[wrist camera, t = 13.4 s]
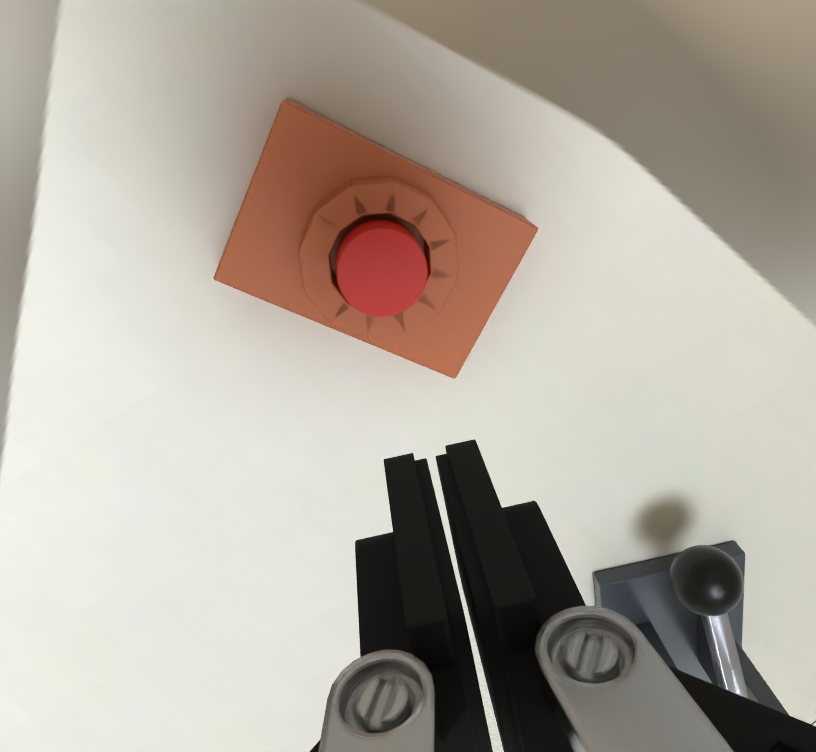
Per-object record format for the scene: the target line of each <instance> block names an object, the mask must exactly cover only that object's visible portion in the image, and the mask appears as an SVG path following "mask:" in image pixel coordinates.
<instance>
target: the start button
mask: <svg viewBox="0 0 816 752" xmlns="http://www.w3.org/2000/svg"><path fill="white" fill-rule="evenodd" d="M336 268H337V281H338V285H339V288H340V291H341V293H342V295H343V296H344V298H345V299H346V300H347V301H348V303H349V304H351V305H352V306H353V307H354V308H356V309H357V310H359V311H361V312H363V313H365V314H368V315H372V316H379V317H384V316H392V315H395V314H398V313H401V312H403V311H405V310H406V309H408V308H409V307H411V306H412V305H413V304H414V303H415V302H416V301H417V300H418V298H419V297H420V296H421V294H422V292H423V290H424V288H425V285H426V282H427V276H428V268H427V262H426V258H425V255H424V253H423V251H422V249H421V247H420V245H419V243H418V241H417V239H416V238H415V236H414V235H413V234H412V233H411V232H410V231H409V230H408V229H407V228H405V227H404V226H403V225H401V224H399V223H397V222H394V221H390V220H385V219H375V220H369V221H366V222H363V223H361V224H359V225H357V226H356V227H354V228H353V229H352V230H350V231H349V232H348V233H347V235H346V236H345V237H344V239H343V240H342V242H341V244H340V246H339V249H338V252H337V259H336Z"/></svg>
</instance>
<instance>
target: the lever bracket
mask: <svg viewBox="0 0 816 752" xmlns="http://www.w3.org/2000/svg"><path fill="white" fill-rule="evenodd" d="M711 547H715V548H718V549H720V550H722V551H724V552H725V553H727V554H728V555H729V556H730V557H731V558H733V559H734V561H735V562H736V563H737V565H738V566H739V568H740V570H741V572H742V575H743V580H744V570H745V553H744V551H743V550H742V549H741V548H740V547H739V546H738V544H737V543H736V542H735V541H733V542H729V543H724V544H720V545H715V546H711ZM678 555H679V554H675V555H671V556H666V557H662V558H657V559H653V560H648V561H644V562H639V563H635V564H630V565H626V566H621V567H617V568H612V569H608V570H604V571H599V572H595V573H593V575H594V586H595V597H596V606H598V607H602V608H606V609H610V610H613V611H615V612H617V613H619V614H621V615H623V616H625V617H626V618H628V619H629V620H630V621H631V622H632V623H633V624H634V625H635V626H636V627H637V628H638V629H639V630H640V631H641V632H642V634H643V635H644V636H645V638H646V639H647V640H648V641H649V643H650V644H651V645H652V647H653V648H654V649H655V650H656V652H657V653H658V654H659V656H660V657H661V658H662V659H663V661H664V662H665V663H666V665H668V666H670V667H672V668H675V669H677V670H680V671H682V672H685V673H687V674H689V675H692V676H694V677H697V678H699V679H702V680H704V681H706V682H709V683H711V684H714V685H716V686H718V682H717V678H716V674H715V670H714V666H713V662H712V658H711V654H710V650H709V646H708V642H707V637H706V633H705V629H704V625H703V621H702V617H701V615H699V614H696V613H694V612H692V611H690V610H688V609H687V608H686V607H684V606H683V605H682V604H681V603H680V602H679V601H678V600H677V598H676V597H675V595H674V593H673V591H672V588H671V585H670V578H669V575H670V568H671V565H672V563H673V561H674V559H675V558H676V557H677V556H678ZM743 597H744V590H743V595H742V598H741V600H740V601H739V603H738V604H737V605H736V607H735V608H733V609H732V610H731V611H729V612H728V616H729V620H730V624H731V628H732V632H733V636H734V640H735V644H736V648H737V652H738V656H739V660H740V664H741V668H742V672H743V676H744V680H745V684H746V688H747V692H748V696H749V699H750V700H752V701H755V702H757V703H760V704H762V705H765V706H767V707H769V708H772V709H774V710H777V711H779V712H781V713H784V714H786V715H789V714H788V713H787V712H786V710H785V709H784V707H783V706H782V705H781V703H780V702H779V700H778V699H777V698H776V696H775V695H774V693H773V692H772V690H771V689H770V688H769V686H768V685H767V683H766V682H765V681H764V679H763V678H762V676H761V675H760V673H759V672H758V671H757V669H756V668H755V666H754V665H753V664H752V662H751V661H750V659H749V658H748V657H747V655H746V654H745V652H744V651H743V649H742V623H743ZM718 687H719V686H718Z"/></svg>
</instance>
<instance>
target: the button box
mask: <svg viewBox="0 0 816 752" xmlns="http://www.w3.org/2000/svg"><path fill="white" fill-rule="evenodd" d="M375 219H385V220H390V221H394V222H397V223H399V224H401V225H403V226H404V227H405V228H407V229H408V230H409V231H410V232H411V233H412V234H413V235H414V236H415V238H416V239H417V241H418V243H419V245H420V247H421V249H422V251H423V253H424V255H425V258H426V262H427V268H428V276H427V282H426V285H425V288H424V290H423V292H422V294H421V296H420V297H419V298H418V300H417V301H416V302H415V303H414V304H413V305H412V306H411V307H409V308H408V309H406V310H405V311H403V312H401V313H398V314H395V315H392V316H384V317H379V316H372V315H368V314H365V313H363V312H361V311H359V310H357V309H356V308H354V307H353V306H352V305H351V304H349V303H348V301H347V300H346V299H345V298H344V296H343V295H342V293H341V291H340V288H339V285H338V281H337V268H336V259H337V252H338V249H339V246H340V244H341V242H342V240H343V239H344V237H345V236H346V235H347V233H348V232H349V231H350V230H352V229H353V228H354V227H356V226H357V225H359V224H361V223H363V222H366V221H369V220H375ZM537 230H538V228H537V227H536V226H535V225H534V224H532V223H531V222H530V221H528V220H527V219H526V218H524V217H522V216H520V215H518V214H516V213H514V212H512V211H510V210H508V209H506V208H504V207H502V206H500V205H498V204H496V203H494V202H492V201H490V200H488V199H486V198H484V197H482V196H480V195H478V194H476V193H474V192H472V191H470V190H468V189H466V188H465V187H463V186H461V185H459V184H457V183H455V182H453V181H451V180H449V179H447V178H445V177H443V176H441V175H439V174H437V173H435V172H433V171H431V170H429V169H427V168H425V167H423V166H421V165H419V164H417V163H415V162H413V161H411V160H409V159H407V158H405V157H403V156H401V155H399V154H397V153H395V152H393V151H391V150H389V149H387V148H385V147H383V146H381V145H379V144H377V143H375V142H373V141H371V140H369V139H367V138H365V137H363V136H361V135H359V134H357V133H355V132H353V131H351V130H349V129H347V128H345V127H343V126H341V125H339V124H337V123H335V122H333V121H331V120H329V119H327V118H325V117H323V116H321V115H319V114H317V113H315V112H313V111H311V110H309V109H307V108H305V107H303V106H301V105H299V104H297V103H295V102H293V101H291V100H289V99H284V100H283V101H282V102H281V104H280V107H279V110H278V112H277V115H276V117H275V120H274V123H273V125H272V128H271V130H270V133H269V136H268V138H267V141H266V143H265V146H264V148H263V151H262V154H261V156H260V159H259V161H258V164H257V167H256V169H255V172H254V174H253V177H252V180H251V182H250V185H249V187H248V190H247V193H246V195H245V198H244V200H243V203H242V205H241V208H240V211H239V213H238V216H237V218H236V221H235V224H234V226H233V229H232V231H231V234H230V237H229V239H228V242H227V244H226V247H225V250H224V252H223V255H222V257H221V260H220V262H219V265H218V268H217V270H216V273H215V275H214V279H215V280H216V281H219V282H221V283H223V284H226V285H228V286H231V287H233V288H236V289H238V290H240V291H243V292H245V293H248V294H250V295H253V296H255V297H257V298H260V299H262V300H265V301H267V302H270V303H272V304H274V305H277V306H279V307H282V308H284V309H287V310H289V311H291V312H294V313H296V314H299V315H301V316H304V317H306V318H308V319H311V320H313V321H316V322H318V323H321V324H323V325H325V326H328V327H330V328H333V329H335V330H338V331H340V332H342V333H345V334H347V335H350V336H352V337H354V338H357V339H359V340H362V341H364V342H367V343H369V344H371V345H374V346H376V347H379V348H381V349H384V350H386V351H388V352H391V353H393V354H396V355H398V356H401V357H403V358H405V359H408V360H410V361H413V362H415V363H418V364H420V365H422V366H425V367H427V368H430V369H432V370H435V371H437V372H439V373H442V374H444V375H447V376H449V377H452V378H456V376H457V375H458V373H459V371H460V369H461V367H462V366H463V364H464V362H465V360H466V358H467V357H468V355H469V353H470V351H471V349H472V348H473V346H474V344H475V342H476V340H477V339H478V337H479V335H480V333H481V331H482V330H483V328H484V326H485V324H486V322H487V321H488V319H489V317H490V315H491V313H492V312H493V310H494V308H495V306H496V304H497V303H498V301H499V299H500V297H501V295H502V293H503V292H504V290H505V288H506V286H507V284H508V283H509V281H510V279H511V277H512V275H513V274H514V272H515V270H516V268H517V266H518V265H519V263H520V261H521V259H522V257H523V256H524V254H525V252H526V250H527V248H528V247H529V245H530V243H531V241H532V239H533V238H534V236H535V234H536V232H537Z"/></svg>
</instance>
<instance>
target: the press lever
mask: <svg viewBox="0 0 816 752" xmlns="http://www.w3.org/2000/svg"><path fill="white" fill-rule="evenodd" d="M669 578H670V585H671V588H672V591H673V593H674V595H675V597H676V598H677V600H678V601H679V602H680V603H681V604H682V605H683V606H684V607H686V608H687V609H688V610H690V611H692V612H694V613H696V614H699V615H701V617H702V621H703V625H704V629H705V633H706V637H707V642H708V646H709V650H710V654H711V658H712V662H713V666H714V670H715V674H716V678H717V682H718V686H719V687H721V688H723V689H726V690H728V691H731V692H733V693H735V694H738V695H740V696H743V697H745V698H748V699H749V696H748V692H747V688H746V684H745V680H744V676H743V672H742V668H741V664H740V660H739V656H738V652H737V648H736V644H735V640H734V636H733V632H732V628H731V624H730V620H729V616H728V612H729V611H731V610H732V609H733V608H735V607H736V605H737V604H738V603H739V601H740V600H741V598H742V595H743V590H744V580H743V575H742V572H741V570H740V568H739V566H738V565H737V563H736V562H735V561H734V559H733V558H731V557H730V556H729V555H728V554H727V553H725V552H724V551H722V550H720V549H718V548H715V547H711V546H706V545H699V546H693V547H690V548H688V549H685V550H684V551H682V552H681V553H680V554H679V555H678V556H677V557H676V558H675V559H674V561H673V563H672V565H671V568H670V575H669Z"/></svg>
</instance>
